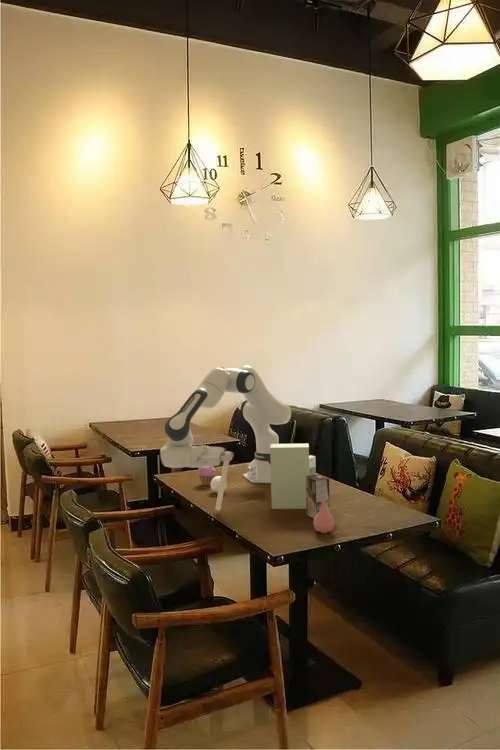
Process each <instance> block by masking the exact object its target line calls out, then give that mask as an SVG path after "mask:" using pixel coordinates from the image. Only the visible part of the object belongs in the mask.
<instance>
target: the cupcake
mask: <svg viewBox="0 0 500 750" xmlns="http://www.w3.org/2000/svg"><path fill="white" fill-rule="evenodd" d="M216 473H217V469H216V468H215V466H204V467H203V468H198V469H197V475H198V477H199V480H200V482H201V485H203V486H206V485H207V486H211V485H210V483H211V481H212V479H213V478H214V477H215V475H216Z"/></svg>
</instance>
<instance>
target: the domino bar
mask: <svg viewBox="0 0 500 750" xmlns="http://www.w3.org/2000/svg"><path fill="white" fill-rule="evenodd" d="M224 452H225V456H228V455H231V452H232V451H228V450H225V451H224ZM222 462H223V463H222V470H221V475H220V476H221V479H220V485H219V491H218V493H217V497H216V503H215V509H214V510H215V511H221V509H222V503H223V499H224V493H225V491H224V488H225V483H226V481H227V475H228V472H229V465H230V460H227V461H222Z"/></svg>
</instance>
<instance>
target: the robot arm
mask: <svg viewBox="0 0 500 750" xmlns="http://www.w3.org/2000/svg"><path fill="white" fill-rule="evenodd" d="M200 382H201V383H200V384H199V386H198V387H197V388H196V390H194V391H193V393H191V394H190V396H189V397H188V398H187V400H186V401H185V402H184V403H183V404H182V406H181V407H180V409H179V410H178V411H177V412H175V414H173V415H172V416H170V417H169V418H168V419H167V421H166V422H165V425H164V431H165V434H166V435H167V437H168V439H167V441H166V443H165V445H163V447H161V448H160V450H159V457H160V461H161V464H162V466H163V467H165V468H166V467H167V468H173V469H174V468H176V469H177V468H178V469H181V468H182V469H183V468H193V469H195V468H198V469H199V468H203V467H204V466H213V467H219V466H220V464H221V462H224V461H227V460H229V461H232V460H233V458H234V456H235V455H234V451H233V452H232V451H230V452H231V455H228V456H225V452H226V451H225V448H224V447H221V446H207V445H206V444H201V445H193V443H194V435H193V433H192V429H191V421H192V420H193V418H194V417H195V415H196V414H197V413H198V411H199V410H200V409H201V408H204V409H213V408H215V407H216V406H217V405H218V403H219V402H220V401H221V399H222V398H223V396H224V395H225V392H226V393H227V392H228V393H235V394H243V397H244V398H245V400H246V402H245V404H244V406H243V408H242V415H243V418H244V419H245V421H247V422H248V423H249V425H250V426H251V427H252V430H253V432H254V436H255V443H256V445H255V446H256V451H254V459H253V460H252V461H251V462H250V463H248V465H247V469H246V471H247V472H246V473H243V474H242V477H243V476H244V477H243V478H245V479H246V480H248V481H249V482H251V483H255V484H256V483H258V484H259V483H262V484H271V460H270V446H271V444H280V443H279V441H280V440H279V434H277V433H276V432H275V431H274V430H273V429H272V427H271V426H270V425H277V426H278V425H285V424H287V423H289V422H290V420H291V417H292V409H291V407H290V405H289V404H287V403H285V402H283V401H282V400H281V401H280V400H279V399H278V398H277V397H275V395H273V394H272V393H271V392H270V391H269V390H268V388H267V387H266V385H265V383H264V382H263V380H262V378H261V376H260V375H259V373H258V372H257V371H256V369H254V367H252V366H250V365H242V366H240V367H239V368H237V367H235V368H233V367H214V368H212V369H211V370H210V371H209V372H208V373H207V374H206V375H205V376H204V378H203V379H202V381H200Z"/></svg>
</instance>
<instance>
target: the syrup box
mask: <svg viewBox="0 0 500 750" xmlns="http://www.w3.org/2000/svg"><path fill="white" fill-rule="evenodd" d="M316 458H317V457H316V456H315V455H311V454H309V476H310V475H316V474H317V470H316V467H317V466H316V462H317V460H316Z"/></svg>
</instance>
